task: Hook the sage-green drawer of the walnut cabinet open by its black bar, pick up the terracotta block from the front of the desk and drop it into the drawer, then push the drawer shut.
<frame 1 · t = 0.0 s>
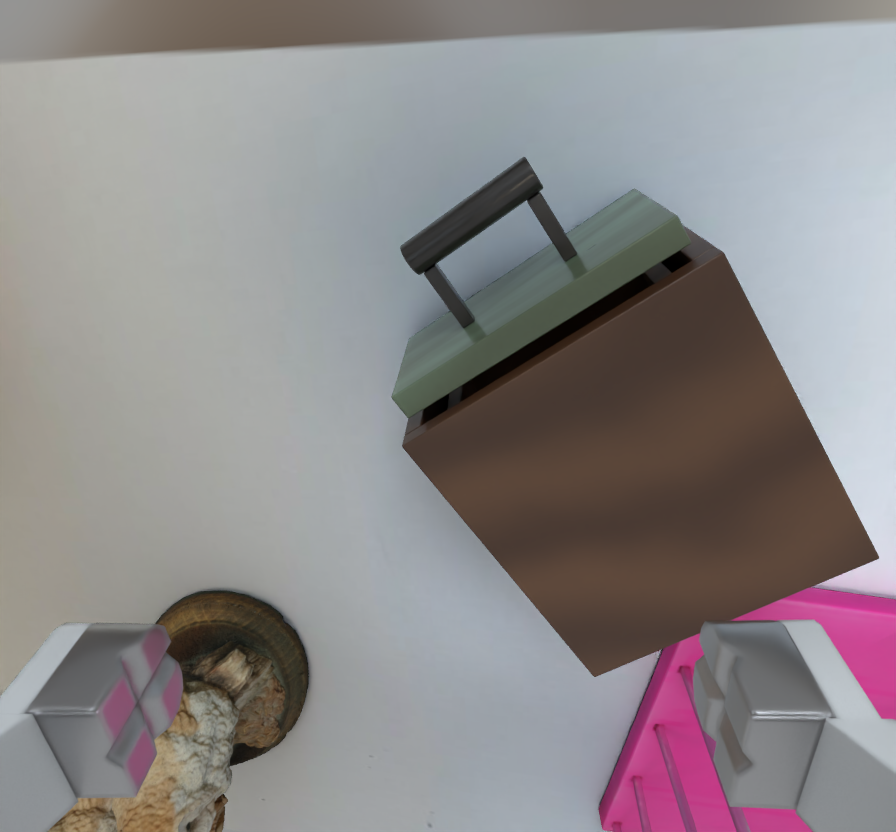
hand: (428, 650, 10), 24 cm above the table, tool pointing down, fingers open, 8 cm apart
drawer: (578, 380, 29), point 4 cm above the table, slide at 0.5 cm
file sorter: (758, 717, 45), on the table
owl figurine: (227, 677, 46), on the table
cabinet: (609, 409, 34), on the table
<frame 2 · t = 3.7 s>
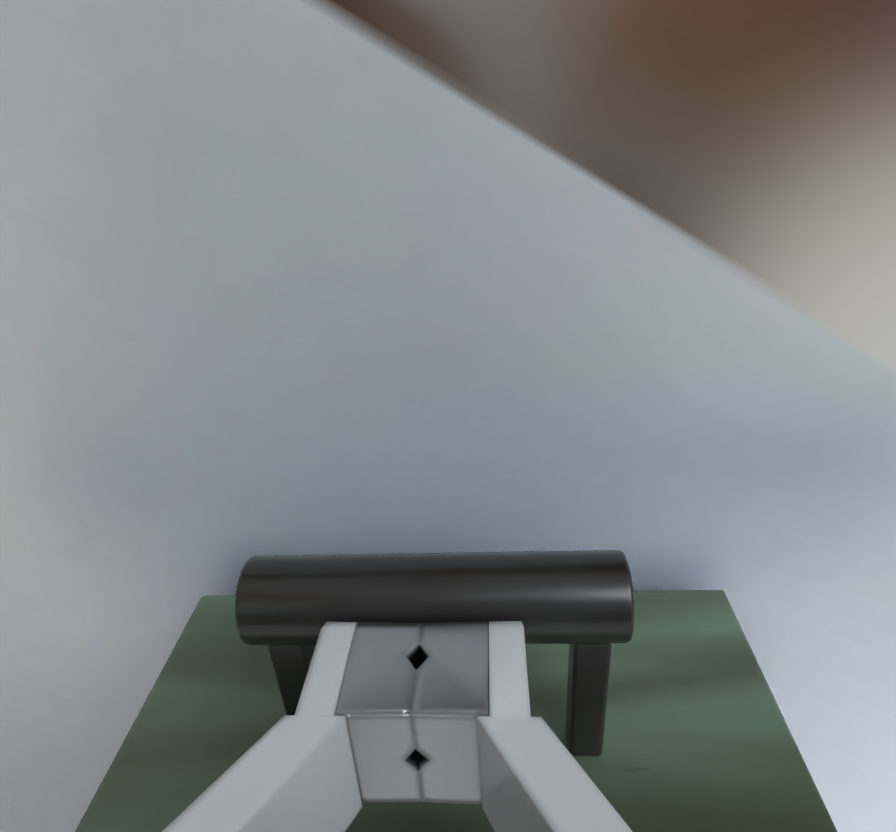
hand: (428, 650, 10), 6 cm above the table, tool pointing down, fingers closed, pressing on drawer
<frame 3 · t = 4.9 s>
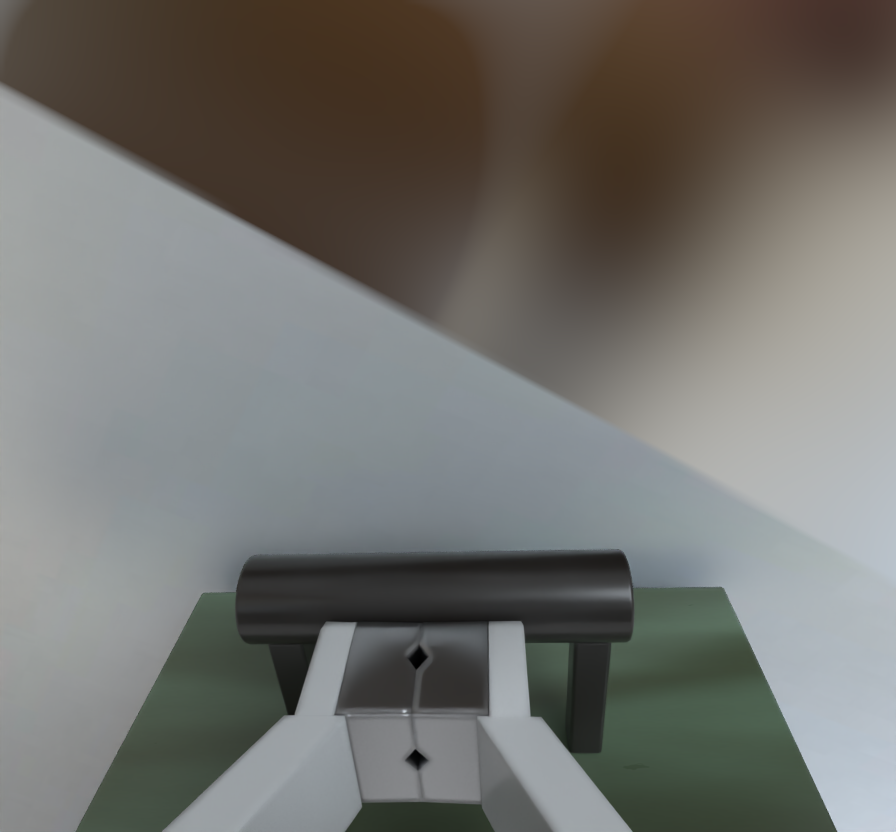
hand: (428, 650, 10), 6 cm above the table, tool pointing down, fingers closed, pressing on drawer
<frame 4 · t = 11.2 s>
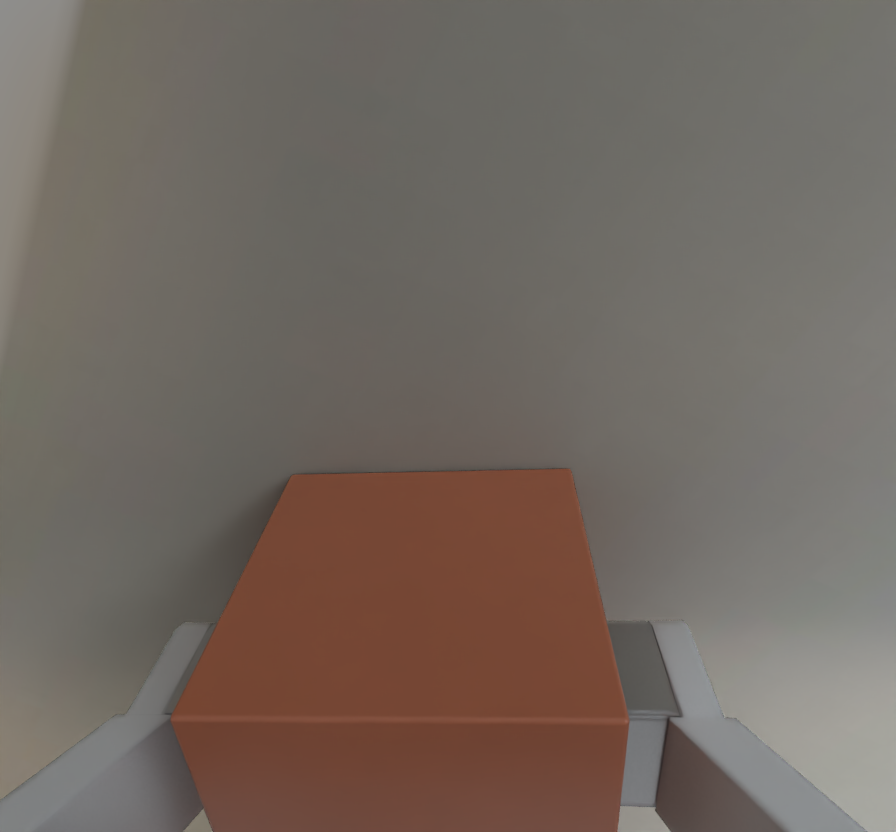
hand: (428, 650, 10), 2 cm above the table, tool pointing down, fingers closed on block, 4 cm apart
block: (437, 578, 11), on the table, touching gripper
when the fingers open (7 cm above the table, at t = 19.5 s): block stays where it is, resting on drawer.
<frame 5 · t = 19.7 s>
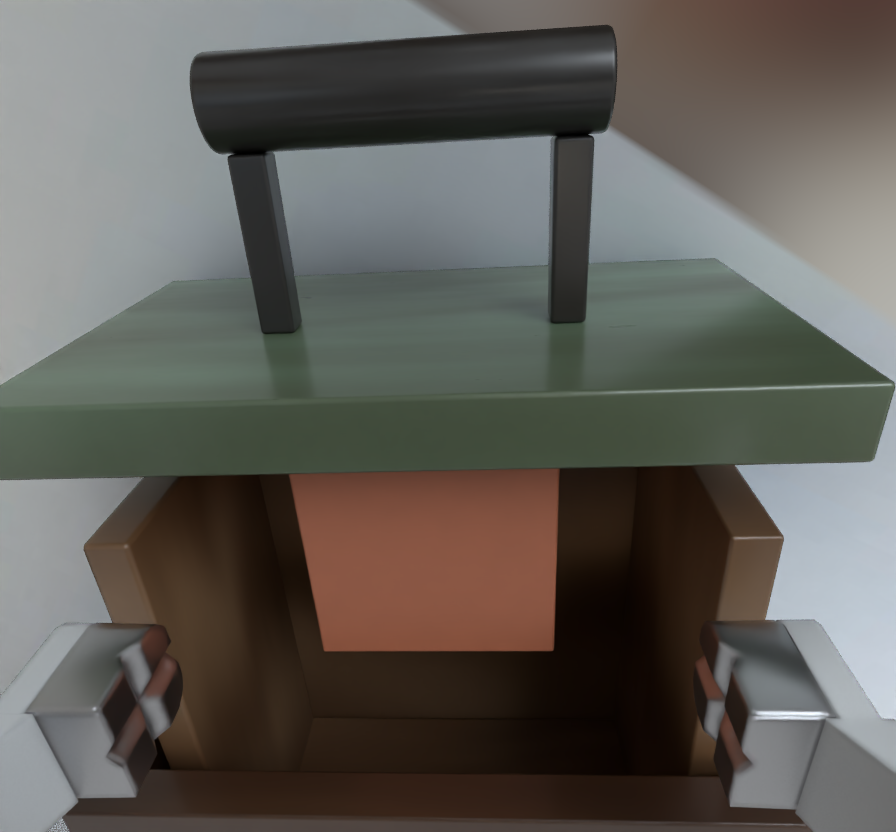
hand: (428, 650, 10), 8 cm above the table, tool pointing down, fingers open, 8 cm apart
drawer: (441, 542, 14), point 4 cm above the table, slide at 6.5 cm, touching block
block: (443, 438, 15), point 2 cm above the table, touching drawer
cabinet: (465, 700, 22), on the table
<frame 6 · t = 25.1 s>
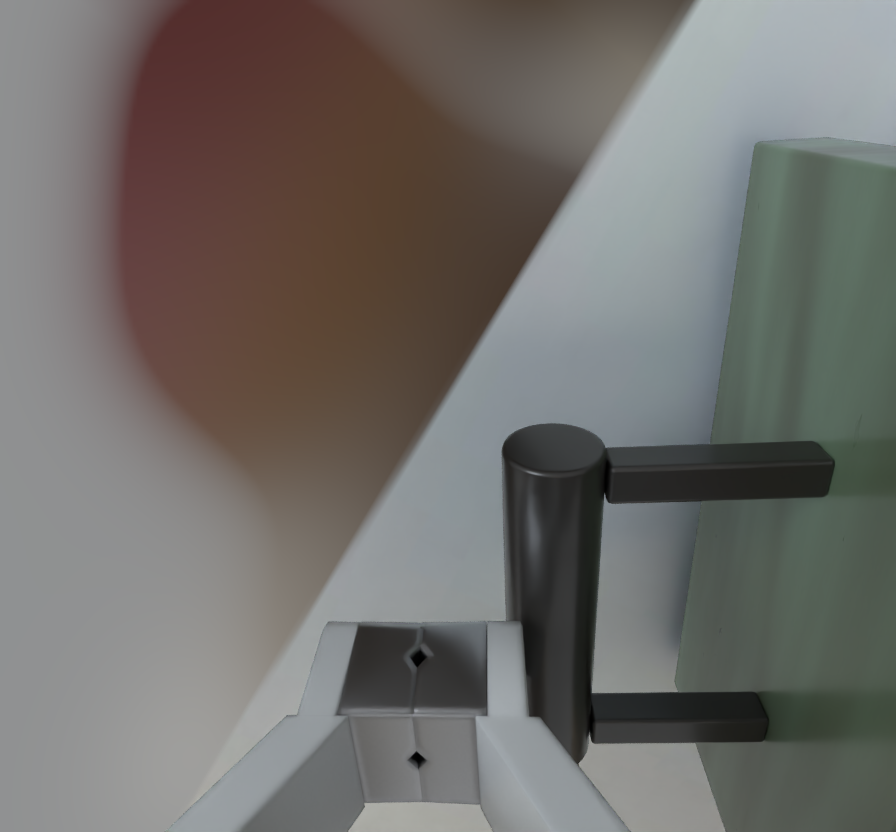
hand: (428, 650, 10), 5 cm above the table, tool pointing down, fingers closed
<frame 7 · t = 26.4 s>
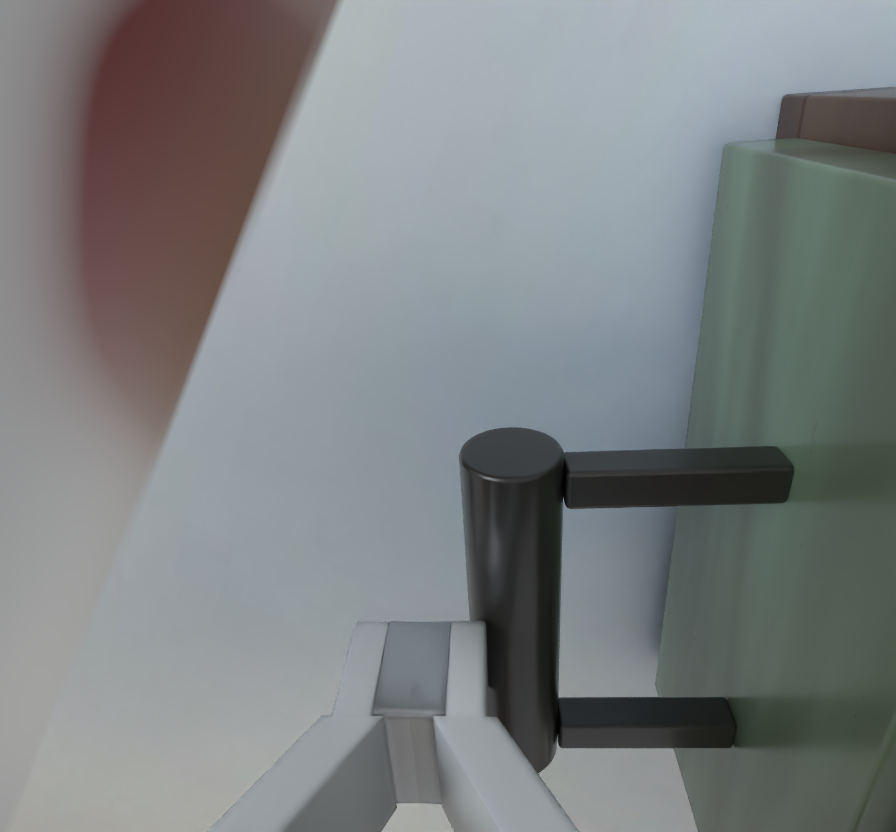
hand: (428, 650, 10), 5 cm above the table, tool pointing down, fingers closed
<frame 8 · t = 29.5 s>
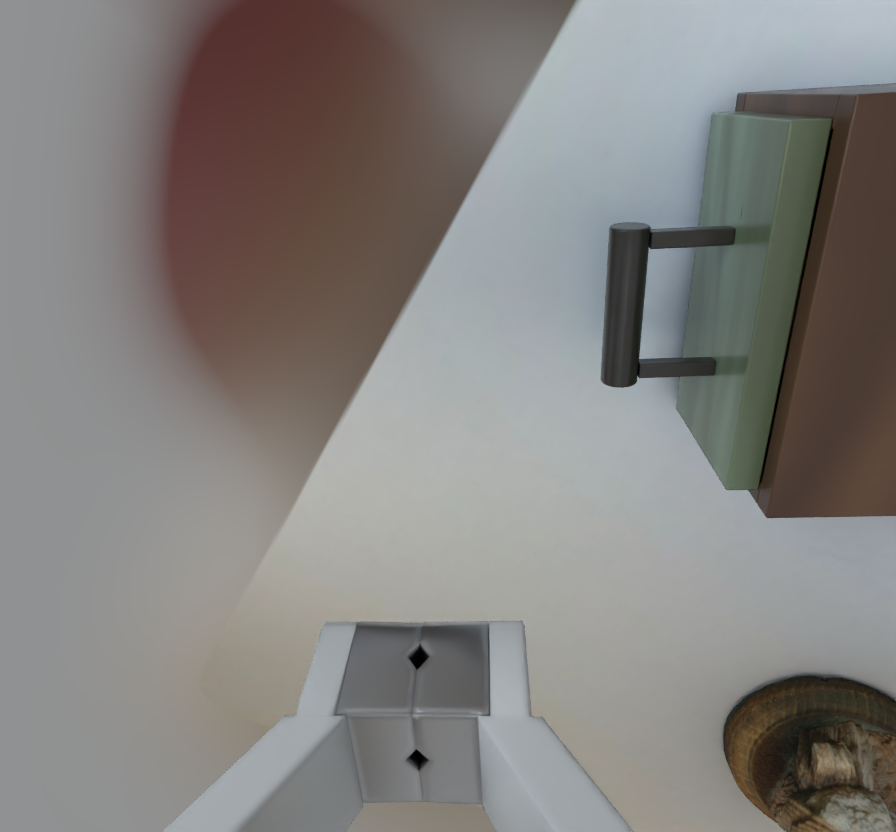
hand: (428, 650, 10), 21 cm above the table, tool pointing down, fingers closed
drawer: (860, 294, 23), point 4 cm above the table, slide at 0.0 cm, touching block, cabinet
block: (797, 279, 26), point 2 cm above the table, touching drawer
owl figurine: (828, 754, 42), on the table
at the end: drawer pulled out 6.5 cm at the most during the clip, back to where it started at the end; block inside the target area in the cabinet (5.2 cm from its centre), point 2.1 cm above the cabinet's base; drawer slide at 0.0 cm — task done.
